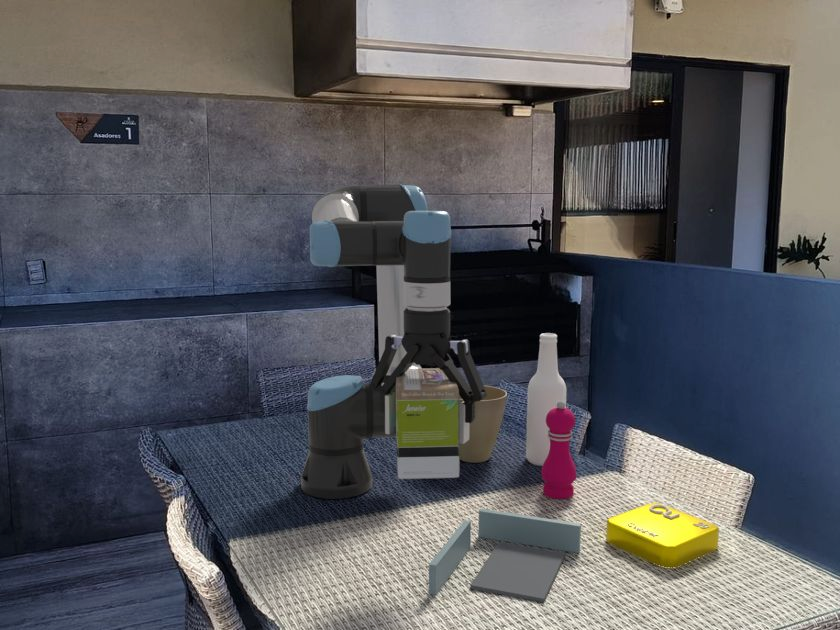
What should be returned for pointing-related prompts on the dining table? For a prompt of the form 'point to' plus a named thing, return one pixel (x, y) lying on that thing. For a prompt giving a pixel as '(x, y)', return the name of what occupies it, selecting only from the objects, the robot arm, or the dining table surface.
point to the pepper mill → (559, 454)
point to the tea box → (427, 425)
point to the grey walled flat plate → (502, 539)
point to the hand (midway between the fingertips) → (426, 436)
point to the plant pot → (484, 426)
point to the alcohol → (543, 399)
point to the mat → (519, 571)
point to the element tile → (662, 534)
